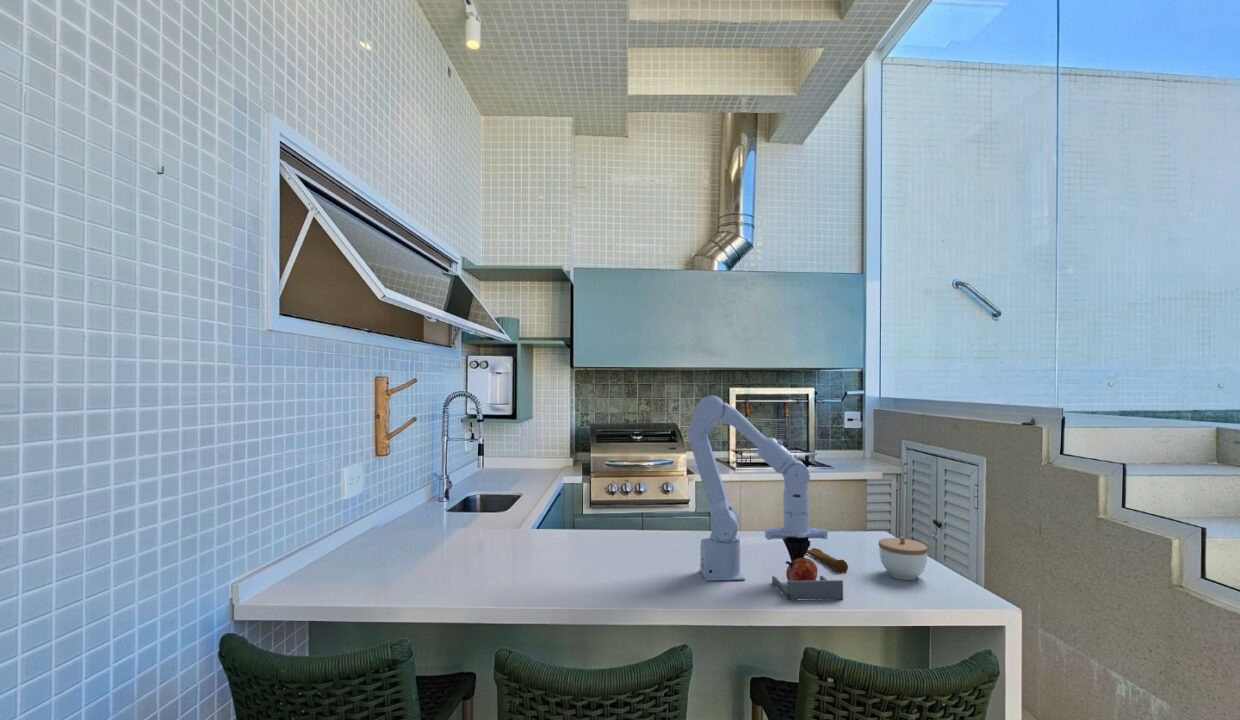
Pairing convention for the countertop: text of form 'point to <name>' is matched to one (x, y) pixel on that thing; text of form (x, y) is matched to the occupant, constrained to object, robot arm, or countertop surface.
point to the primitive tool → (829, 560)
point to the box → (811, 589)
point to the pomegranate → (801, 570)
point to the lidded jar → (903, 557)
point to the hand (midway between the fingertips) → (796, 569)
